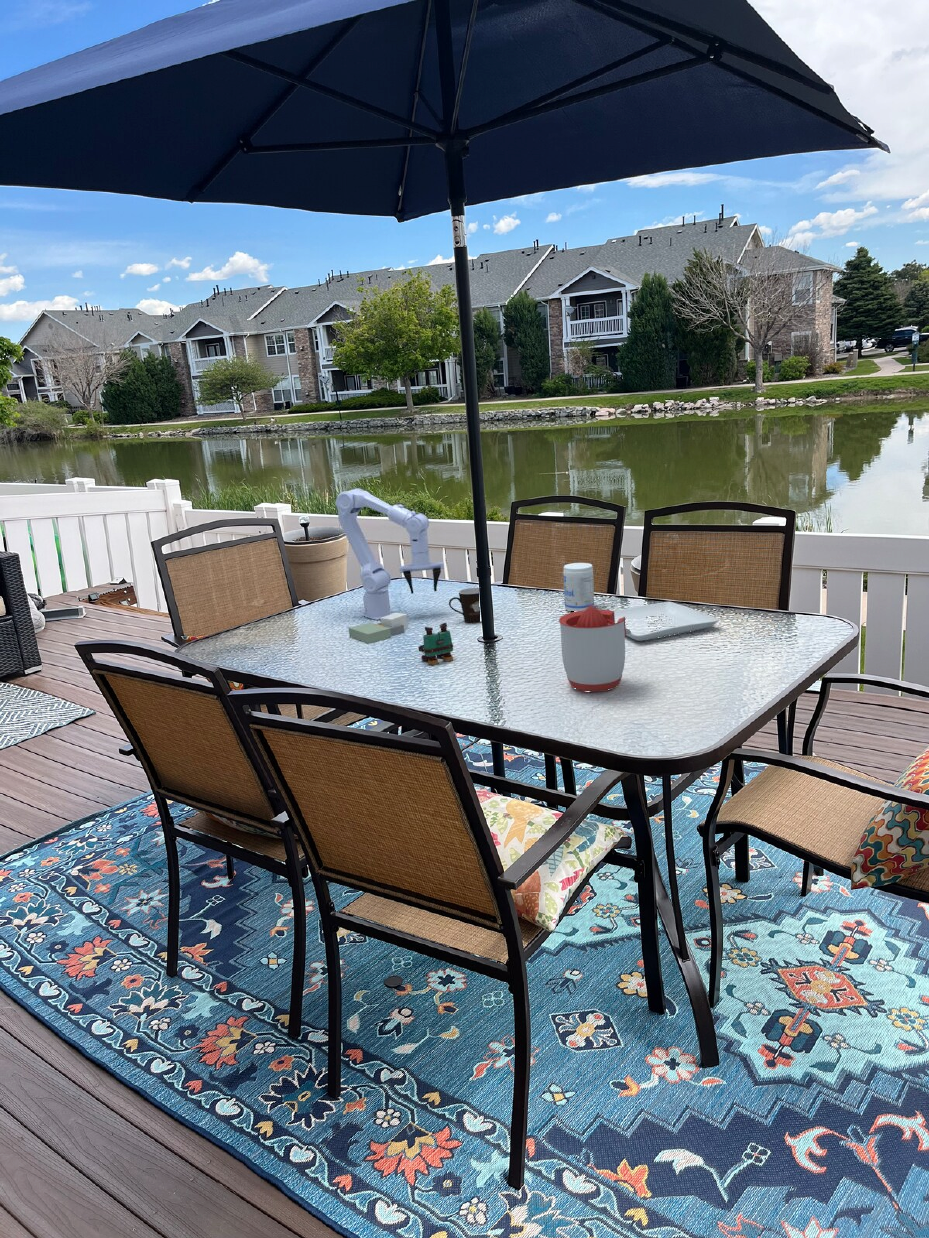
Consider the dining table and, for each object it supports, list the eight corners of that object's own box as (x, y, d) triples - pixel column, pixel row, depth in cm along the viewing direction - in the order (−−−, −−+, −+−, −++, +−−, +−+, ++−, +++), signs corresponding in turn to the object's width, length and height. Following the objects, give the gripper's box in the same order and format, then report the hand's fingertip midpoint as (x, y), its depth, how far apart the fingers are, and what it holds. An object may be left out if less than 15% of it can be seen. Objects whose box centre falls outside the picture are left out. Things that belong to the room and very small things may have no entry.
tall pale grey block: (382, 633, 265) (380, 617, 264) (397, 627, 271) (395, 612, 269) (393, 634, 262) (391, 619, 261) (408, 629, 267) (406, 614, 266)
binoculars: (438, 619, 237) (453, 622, 228) (443, 655, 239) (458, 660, 230) (409, 625, 233) (424, 629, 225) (415, 661, 235) (429, 666, 226)
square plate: (669, 611, 262) (669, 599, 261) (721, 631, 237) (721, 618, 236) (591, 625, 254) (591, 613, 253) (637, 647, 229) (636, 634, 228)
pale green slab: (349, 636, 264) (348, 627, 263) (387, 627, 272) (386, 617, 271) (368, 643, 254) (367, 633, 253) (407, 633, 262) (406, 623, 261)
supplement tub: (559, 610, 274) (556, 566, 270) (579, 604, 279) (577, 561, 275) (579, 614, 266) (577, 569, 262) (600, 608, 272) (598, 564, 268)
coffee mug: (488, 616, 274) (486, 587, 271) (486, 623, 265) (484, 593, 263) (453, 618, 275) (450, 589, 272) (450, 625, 267) (447, 595, 264)
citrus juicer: (646, 688, 197) (643, 606, 192) (578, 700, 193) (574, 617, 188) (616, 669, 212) (613, 593, 207) (552, 681, 207) (548, 603, 202)
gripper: (440, 547, 278) (444, 587, 281) (397, 551, 276) (401, 591, 280) (442, 551, 271) (446, 591, 274) (398, 555, 270) (402, 596, 273)
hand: (423, 591), depth 277 cm, fingers open, 7 cm apart
